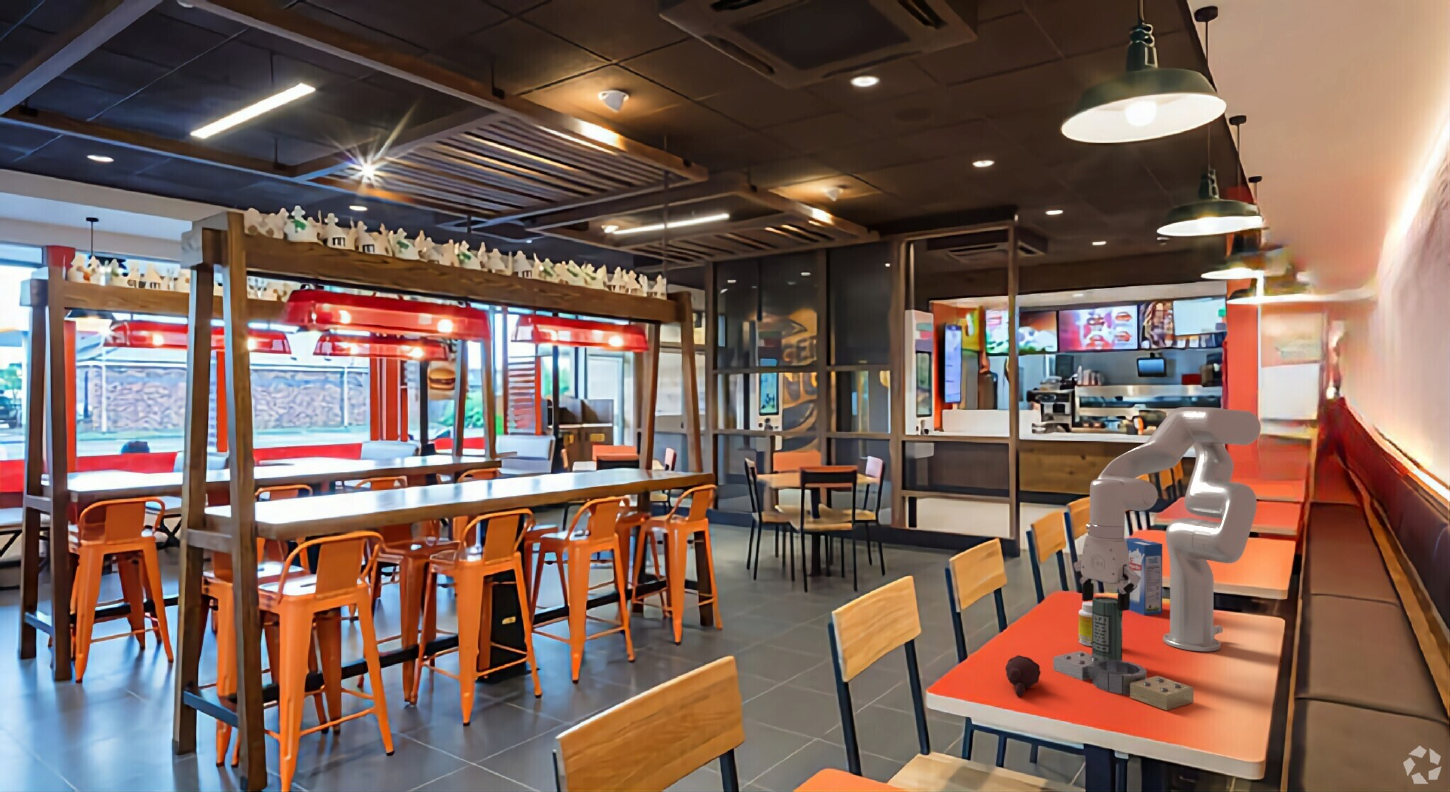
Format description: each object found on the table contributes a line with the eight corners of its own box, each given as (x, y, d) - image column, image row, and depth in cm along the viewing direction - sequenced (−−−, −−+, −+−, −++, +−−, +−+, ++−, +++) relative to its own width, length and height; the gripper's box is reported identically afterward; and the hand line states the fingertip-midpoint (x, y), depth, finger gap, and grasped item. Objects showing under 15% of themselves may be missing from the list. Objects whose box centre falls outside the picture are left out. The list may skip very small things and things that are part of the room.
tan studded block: (1157, 689, 177) (1157, 674, 177) (1193, 701, 170) (1193, 686, 170) (1130, 697, 173) (1130, 681, 173) (1166, 710, 166) (1166, 694, 166)
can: (1126, 664, 194) (1127, 600, 193) (1111, 669, 190) (1111, 604, 190) (1102, 657, 199) (1103, 595, 198) (1087, 662, 195) (1087, 598, 195)
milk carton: (1162, 613, 236) (1162, 543, 236) (1144, 615, 235) (1144, 545, 234) (1136, 604, 246) (1136, 537, 246) (1118, 606, 244) (1118, 538, 244)
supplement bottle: (1094, 648, 205) (1094, 607, 205) (1073, 642, 210) (1074, 602, 210) (1107, 644, 208) (1107, 604, 208) (1087, 639, 213) (1087, 599, 213)
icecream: (1008, 645, 188) (993, 670, 176) (1041, 641, 185) (1028, 667, 172) (1017, 674, 188) (1002, 702, 175) (1050, 672, 184) (1037, 700, 172)
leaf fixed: (1082, 663, 195) (1082, 646, 195) (1156, 689, 178) (1156, 670, 178) (1051, 670, 190) (1051, 652, 190) (1124, 697, 173) (1124, 678, 173)
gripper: (1065, 527, 200) (1063, 598, 200) (1128, 539, 185) (1127, 616, 185) (1086, 525, 203) (1085, 595, 203) (1150, 537, 188) (1149, 612, 188)
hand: (1105, 605), depth 194 cm, fingers open, 9 cm apart
